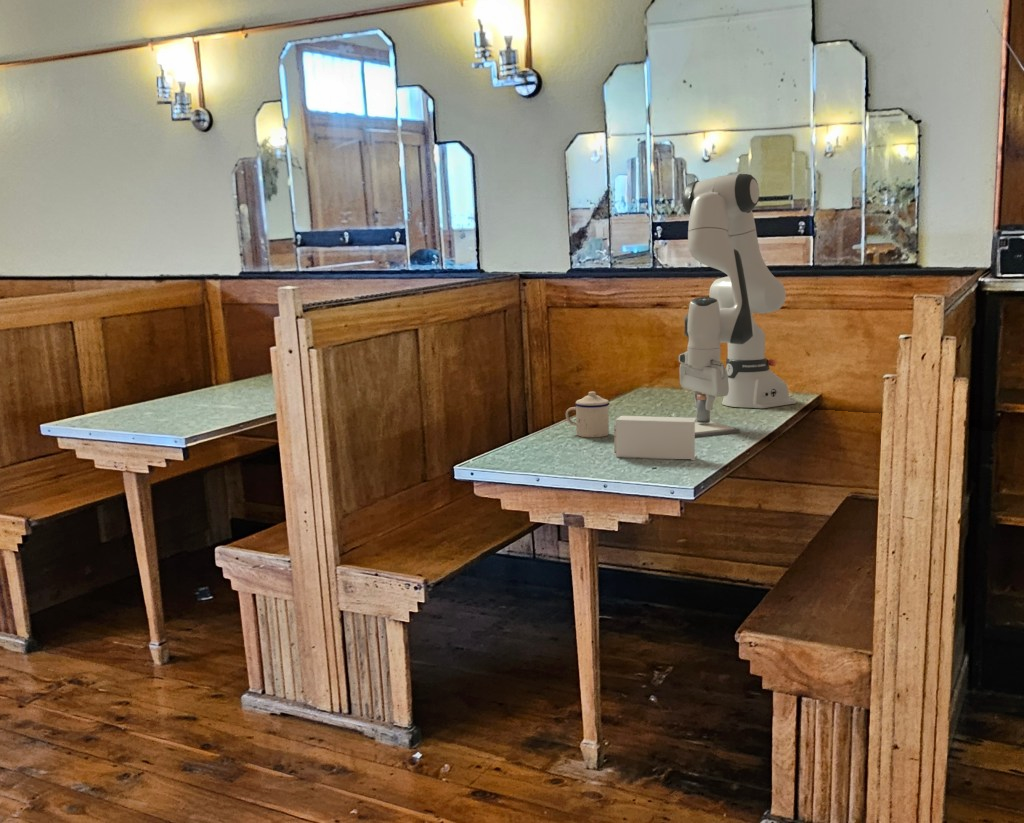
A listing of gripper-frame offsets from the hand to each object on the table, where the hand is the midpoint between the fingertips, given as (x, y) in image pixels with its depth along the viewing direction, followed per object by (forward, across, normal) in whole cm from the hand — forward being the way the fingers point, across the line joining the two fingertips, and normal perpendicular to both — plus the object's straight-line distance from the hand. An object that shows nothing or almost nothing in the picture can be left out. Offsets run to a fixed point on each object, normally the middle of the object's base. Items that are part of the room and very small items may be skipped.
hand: (703, 408), depth 285 cm
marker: (+4, 0, 0) cm, 4 cm away
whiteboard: (+5, -3, +8) cm, 10 cm away
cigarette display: (+6, -26, +29) cm, 39 cm away
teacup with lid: (+6, +7, +32) cm, 33 cm away
